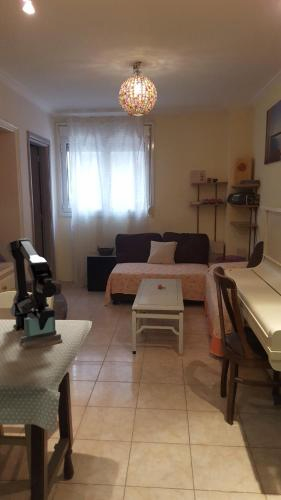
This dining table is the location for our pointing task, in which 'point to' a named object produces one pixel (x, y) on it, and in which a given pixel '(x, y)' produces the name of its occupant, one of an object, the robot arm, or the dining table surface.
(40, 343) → the track
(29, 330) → the door panel
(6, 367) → the dining table surface
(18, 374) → the dining table surface
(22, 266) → the robot arm
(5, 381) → the dining table surface
